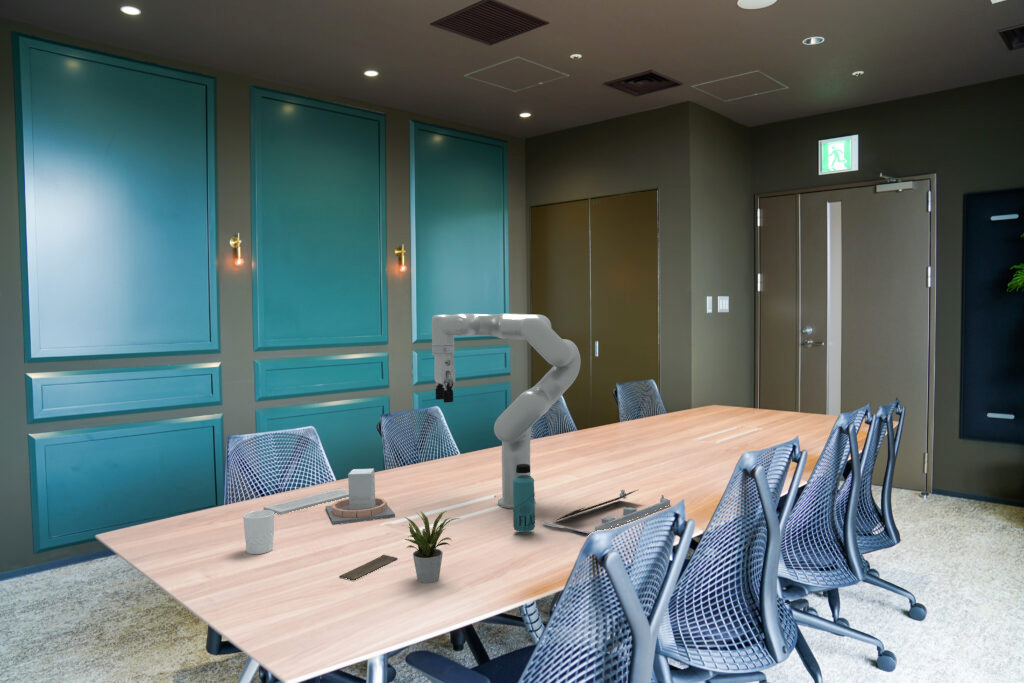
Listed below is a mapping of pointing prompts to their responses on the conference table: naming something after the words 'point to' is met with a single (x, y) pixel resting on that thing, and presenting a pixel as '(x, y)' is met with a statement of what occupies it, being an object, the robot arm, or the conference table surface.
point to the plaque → (308, 501)
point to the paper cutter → (629, 515)
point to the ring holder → (358, 512)
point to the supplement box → (361, 489)
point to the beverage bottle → (523, 500)
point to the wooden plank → (368, 567)
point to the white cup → (259, 531)
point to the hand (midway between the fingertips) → (444, 400)
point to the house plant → (427, 549)
